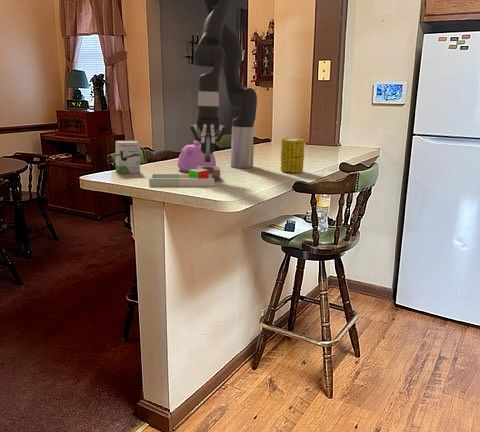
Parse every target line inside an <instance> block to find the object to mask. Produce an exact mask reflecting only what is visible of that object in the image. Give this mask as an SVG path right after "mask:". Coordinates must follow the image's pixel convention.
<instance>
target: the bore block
mask: <svg viewBox="0 0 480 432" xmlns="http://www.w3.org/2000/svg"><path fill="white" fill-rule="evenodd" d="M197 169H204V170H209V174H212V178H214V182H216V181H221V168H220V167H219V166H218V165H216V166H197Z"/></svg>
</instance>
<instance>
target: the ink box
mask: <svg viewBox="0 0 480 432" xmlns="http://www.w3.org/2000/svg"><path fill="white" fill-rule="evenodd" d="M140 150H141V143H140V142H139V141H137V140H115V172H116V173H117V174H131V173H132V174H133V173H134V174H135V173H141V151H140Z"/></svg>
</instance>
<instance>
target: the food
mask: <svg viewBox="0 0 480 432" xmlns="http://www.w3.org/2000/svg"><path fill="white" fill-rule="evenodd" d="M280 144H281V147H280V148H281V149H280V172H282V173H284V172H285V173H287V172H288V173H295V174H298V173H299V174H300V173H302V172H303V171H304V163H305V162H304V160H305V159H304V158H305V139H303V138H301V137H298V138H297V137H295V138H294V137H290V136H287V137H283V138H281V143H280Z"/></svg>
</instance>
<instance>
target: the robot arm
mask: <svg viewBox="0 0 480 432" xmlns="http://www.w3.org/2000/svg"><path fill="white" fill-rule="evenodd" d="M232 1H233V0H203V3H204V6H205V9H206V11H207V14H208V16H207V17H206V19H205V21H204V23H203V29H202V36H201V38H200V40H199V42H198V44H197V45H196V47H195V49H194V53H193V61H194V63H195V64H196V65H197V67H201V68H202V67H203V68H205V67H207V68H213V69H212V71H211V72H208V73H203V74H200V75H199V77H198V95H197V96H198V97H197V120H196V123H195V124H191V125H189V127H190V131H191V132H192V135H193V137H194V139H195V141H199V142H201V143H200V145H201V152H203V154H205V134H211V154H213V155H214V153H215V150H216V145H215V144H216V143H218V142H219V143H220V142H221V140H222V137H223V136H224V134H225V132H226V131H227V127H226V126H225V125H223V124H221V123H220V117H219V116H220V96H219V95H220V93H219V91H220V90H219V88H220V75H221V71H223V77H224V80H225V86H226V87H225V88H226V95H227V100H228V103H229V105H230V107H231V109H234V110H237V111H240V112H239V115H238V116H236V117H235V118H233V119H232V121H231V147H230V150H231V153H230V155H231V156H230V167H232V168H236V169H237V168H238V169H239V168H240V169H249V168H250V169H251V168H254V155H255V154H254V153H255V152H254V151H255V145H254V127H255V126H254V124H255V121H256V117H257V106H258V97H257V93H256V90H255V89H254V88H252V87H242V85H241V82H240V76H239V71H240V68H241V64H242V63H241V62H242V59H243V51H242V47H241V42H240V38H239V35H238V34H237V33H236V32H235V31H234V29H233V28H232V27H231V26H229V24H228V23H227V22H226V18H227V16H228V14H229V13H228V12H229V10H230V7H231V4H232ZM197 127H198V129H199V130H200V132H201V137H199V135H198V133H197ZM217 130H219V133H218V134H217V136H216V137H215V133H216V131H217Z"/></svg>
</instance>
